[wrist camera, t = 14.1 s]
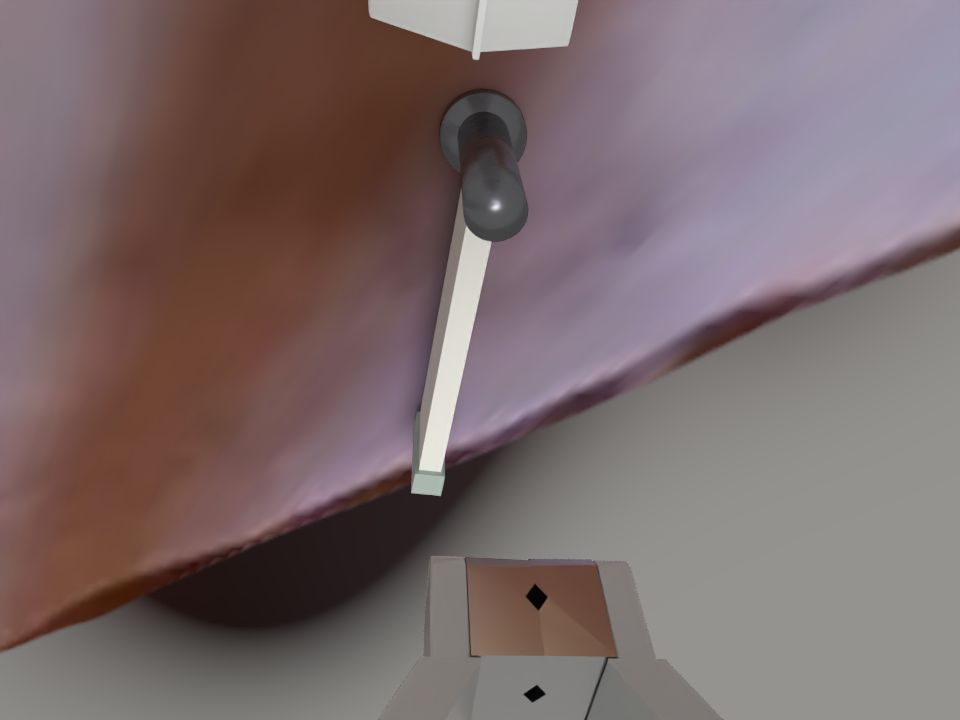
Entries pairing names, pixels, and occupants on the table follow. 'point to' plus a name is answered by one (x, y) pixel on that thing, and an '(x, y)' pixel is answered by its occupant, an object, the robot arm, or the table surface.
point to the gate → (448, 355)
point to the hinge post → (487, 161)
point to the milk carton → (483, 22)
